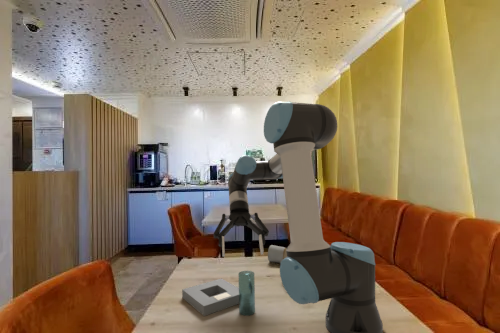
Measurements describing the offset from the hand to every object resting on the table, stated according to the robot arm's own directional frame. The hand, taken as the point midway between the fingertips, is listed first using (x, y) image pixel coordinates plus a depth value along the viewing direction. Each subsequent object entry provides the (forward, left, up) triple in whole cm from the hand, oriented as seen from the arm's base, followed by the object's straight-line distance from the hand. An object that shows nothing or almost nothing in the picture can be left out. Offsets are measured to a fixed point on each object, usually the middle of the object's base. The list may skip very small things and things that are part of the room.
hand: (243, 253), depth 104 cm
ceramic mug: (+21, -35, -15) cm, 44 cm away
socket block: (+5, +9, -15) cm, 18 cm away
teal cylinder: (-9, +5, -15) cm, 18 cm away
